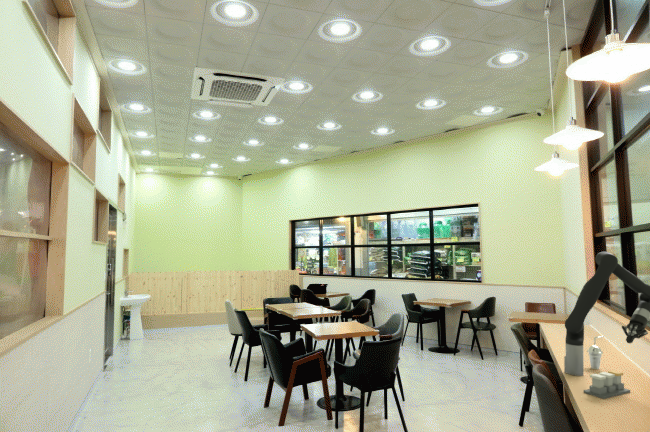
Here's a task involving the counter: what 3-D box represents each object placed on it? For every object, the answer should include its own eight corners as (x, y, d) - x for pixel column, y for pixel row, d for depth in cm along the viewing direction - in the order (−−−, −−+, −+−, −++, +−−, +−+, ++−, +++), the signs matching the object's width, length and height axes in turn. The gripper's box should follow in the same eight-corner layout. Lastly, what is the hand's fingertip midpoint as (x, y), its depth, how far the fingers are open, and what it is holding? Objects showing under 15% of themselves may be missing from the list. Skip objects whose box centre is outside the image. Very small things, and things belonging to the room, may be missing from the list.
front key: (600, 389, 218) (600, 377, 218) (590, 386, 222) (590, 374, 223) (605, 388, 220) (605, 376, 221) (595, 385, 225) (595, 373, 225)
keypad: (603, 399, 215) (603, 390, 215) (583, 392, 224) (583, 384, 224) (630, 392, 226) (630, 384, 226) (610, 386, 235) (610, 378, 235)
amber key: (618, 385, 226) (617, 373, 226) (608, 382, 230) (607, 371, 230) (623, 384, 228) (623, 372, 228) (613, 381, 232) (613, 370, 233)
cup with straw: (587, 365, 276) (586, 333, 278) (604, 367, 272) (603, 335, 273) (587, 368, 269) (586, 335, 270) (604, 371, 265) (604, 337, 266)
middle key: (609, 387, 222) (609, 375, 222) (599, 384, 226) (599, 372, 227) (614, 386, 224) (614, 374, 224) (604, 383, 229) (604, 371, 229)
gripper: (624, 311, 247) (612, 335, 241) (651, 315, 236) (639, 340, 229) (630, 320, 249) (618, 344, 243) (656, 324, 238) (644, 349, 231)
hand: (628, 342), depth 236 cm, fingers closed
